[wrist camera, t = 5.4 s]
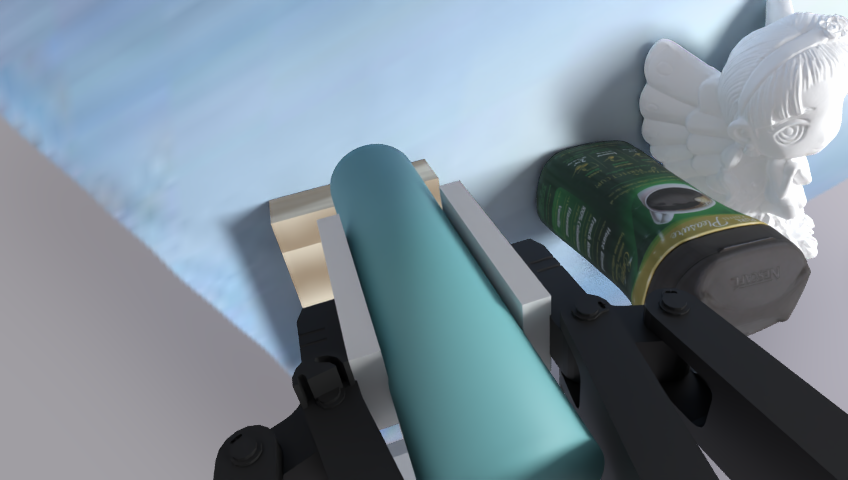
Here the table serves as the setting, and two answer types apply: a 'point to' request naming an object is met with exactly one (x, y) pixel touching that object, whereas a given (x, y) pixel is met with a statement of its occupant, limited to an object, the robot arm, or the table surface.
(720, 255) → the coffee jar
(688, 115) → the cherub figurine
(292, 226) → the socket block
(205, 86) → the table surface
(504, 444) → the peg
